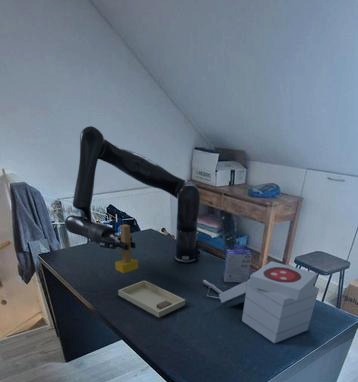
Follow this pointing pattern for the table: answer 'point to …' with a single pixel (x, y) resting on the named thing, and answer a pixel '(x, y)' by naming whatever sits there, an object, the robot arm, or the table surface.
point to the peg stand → (126, 252)
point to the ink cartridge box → (237, 265)
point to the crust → (163, 304)
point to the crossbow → (212, 288)
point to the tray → (151, 297)
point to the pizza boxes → (277, 300)
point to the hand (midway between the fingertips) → (131, 246)
